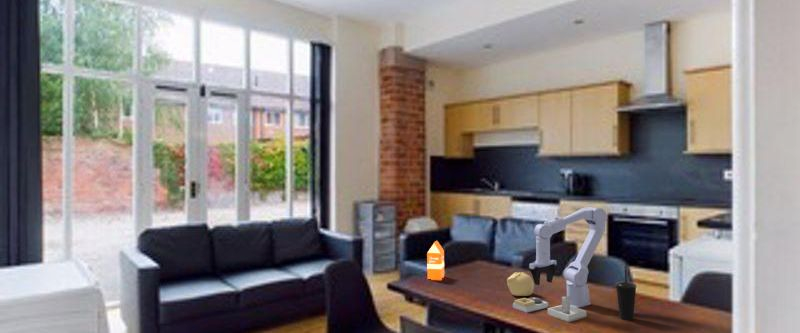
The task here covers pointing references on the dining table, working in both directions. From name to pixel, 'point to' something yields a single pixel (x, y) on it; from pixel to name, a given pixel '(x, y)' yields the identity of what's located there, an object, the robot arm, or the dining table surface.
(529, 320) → the dining table surface
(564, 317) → the tray
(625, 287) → the drinking cup
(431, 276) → the orange juice
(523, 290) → the sculpture
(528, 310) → the white flat block
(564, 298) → the lock pin
